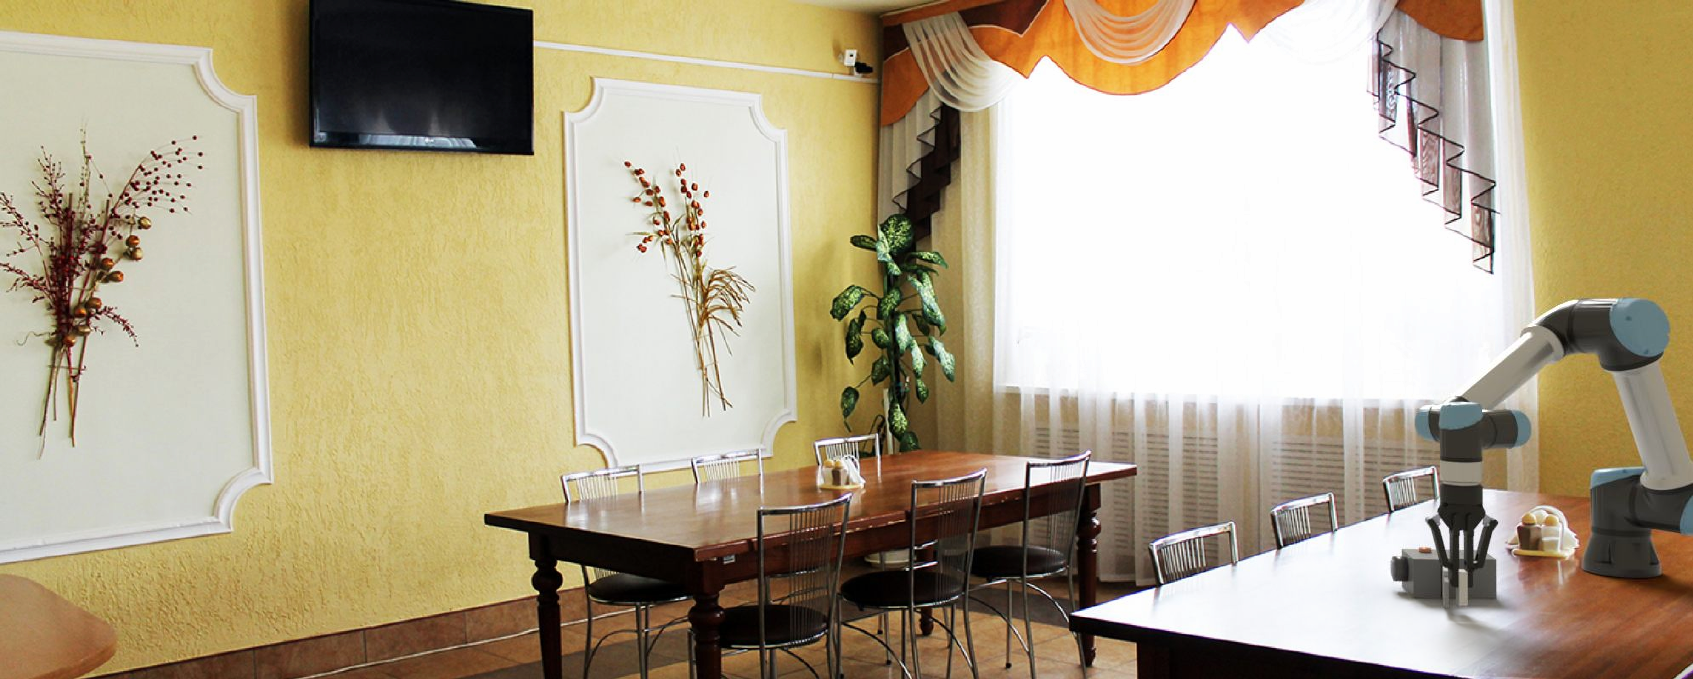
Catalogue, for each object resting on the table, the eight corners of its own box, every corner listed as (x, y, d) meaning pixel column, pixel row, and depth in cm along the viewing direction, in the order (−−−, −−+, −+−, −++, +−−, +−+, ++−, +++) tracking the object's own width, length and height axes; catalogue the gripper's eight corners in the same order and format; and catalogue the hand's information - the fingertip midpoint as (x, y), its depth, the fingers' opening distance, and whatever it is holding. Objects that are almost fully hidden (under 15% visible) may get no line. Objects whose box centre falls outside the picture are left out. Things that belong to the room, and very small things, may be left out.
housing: (1482, 588, 278) (1482, 546, 278) (1498, 599, 267) (1497, 556, 267) (1388, 585, 282) (1388, 544, 282) (1399, 597, 271) (1399, 554, 271)
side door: (1449, 615, 255) (1449, 576, 254) (1444, 614, 255) (1443, 575, 255) (1447, 596, 270) (1446, 560, 270) (1441, 596, 270) (1441, 559, 270)
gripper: (1492, 480, 258) (1492, 600, 259) (1420, 479, 261) (1421, 598, 261) (1503, 485, 251) (1503, 609, 251) (1429, 484, 253) (1430, 607, 254)
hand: (1461, 603), depth 256 cm, fingers closed
